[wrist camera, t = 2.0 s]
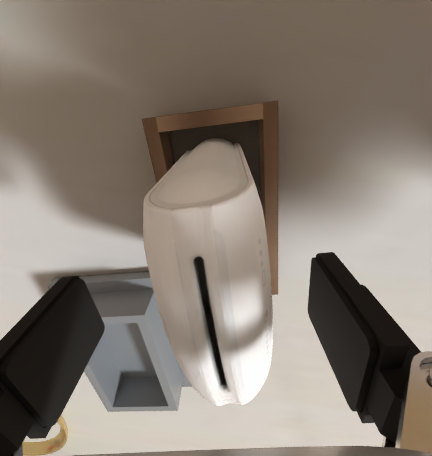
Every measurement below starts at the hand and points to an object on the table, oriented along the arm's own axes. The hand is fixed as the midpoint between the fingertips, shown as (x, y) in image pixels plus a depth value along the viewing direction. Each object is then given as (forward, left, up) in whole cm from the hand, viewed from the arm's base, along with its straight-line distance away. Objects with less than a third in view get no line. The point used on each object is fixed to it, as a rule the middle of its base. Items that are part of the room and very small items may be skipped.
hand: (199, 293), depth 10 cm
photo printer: (-1, 0, -10) cm, 10 cm away
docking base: (+10, +14, -10) cm, 19 cm away
